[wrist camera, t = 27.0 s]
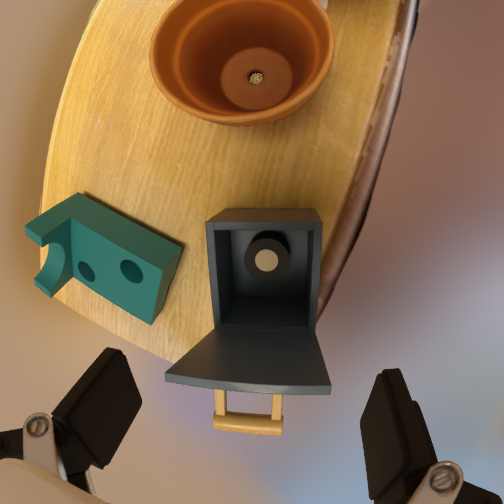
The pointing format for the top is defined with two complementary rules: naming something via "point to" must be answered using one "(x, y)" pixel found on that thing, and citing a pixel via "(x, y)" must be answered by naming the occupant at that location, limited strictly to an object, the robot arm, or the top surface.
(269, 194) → the top surface
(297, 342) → the lid
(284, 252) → the tape roll
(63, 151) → the top surface
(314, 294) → the chest
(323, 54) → the flower pot
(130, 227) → the teal l-shaped bracket
